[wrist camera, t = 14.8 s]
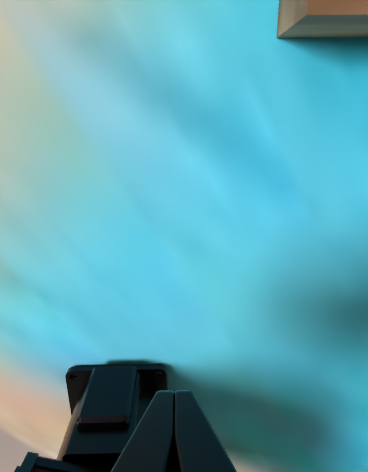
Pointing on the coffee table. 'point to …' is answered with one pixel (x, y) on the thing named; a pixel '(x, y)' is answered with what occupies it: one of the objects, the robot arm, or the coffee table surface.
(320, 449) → the coffee table surface
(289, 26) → the wall board
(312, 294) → the coffee table surface
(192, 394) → the robot arm
